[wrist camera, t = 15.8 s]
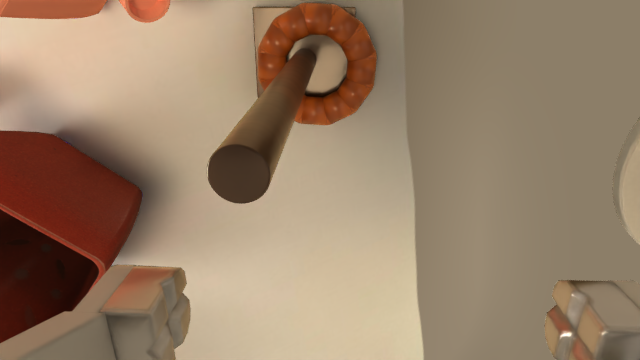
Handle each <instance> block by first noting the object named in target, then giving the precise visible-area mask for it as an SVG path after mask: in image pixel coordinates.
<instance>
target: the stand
mask: <svg viewBox="0 0 640 360" xmlns="http://www.w3.org/2000/svg"><path fill="white" fill-rule="evenodd" d="M292 8H294V7H253V23H254V41H255V59H256V76H257V94H258V99H257V100H256V102H255V103H254V104H253V105H252V107H251V108H250V109H249V110H248V111H247V113H246V114H245V115H244V116H243V118H242V119H241V120H240V121H239V122H238V124H237V125H236V126H235V127H234V129H233V130H232V131H231V132H230V134H229V135H228V136H227V137H226V138H225V140H224V141H223V142H222V143H221V145H220V146H219V147H218V148H217V150H216V151H215V152H214V153H213V154H212V156H211V157H210V159H209V162H208V165H207V177H208V180H209V183H210V185H211V187H212V188H213V190H214V191H215V192H216V193H217V194H218V195H219V196H221V197H222V198H224V199H225V200H228V201H230V202H234V203H249V202H253V201H255V200H257V199H259V198H260V197H261V196H263V195H264V193H265V192H266V191H267V189H268V187H269V185H270V182H271V180H272V177H273V174H274V172H275V169H276V167H277V164H278V161H279V159H280V156H281V154H282V151H283V148H284V146H285V143H286V141H287V138H288V135H289V133H290V130H291V128H292V125H293V122H294V120H295V117H296V115H297V112H298V109H299V107H300V104H301V102H302V99H303V96H304V95H306V96H309V97H325V96H327V95H329V94H331V93H333V92H335V91H337V90H338V89H339V87H340V86H341V84H342V83H343V81H344V80H345V78H346V76H347V62H348V60H347V58H346V56H345V54H344V52H343V49H342V47H341V45H340V44H338V43H337V42H335V41H334V40H332V39H331V38H329V37H328V36H326V35H308V36H306V37H304V38H302V39H300V40H299V41H297V42H295V43H294V45H293V47H292V48H291V50H290V52H289V53H288V55H287V58H286V65H285V66H284V67H283V68H282V70H281V71H280V72H279V73H278V75H277V76H276V77H275V78H274V79H273V81H272V82H271V83H270V84H269V86H268V87H267V88H266V89H265V91H264V90H263V88H262V86H261V84H260V83H259V80H258V47H259V44H260V42H261V41H262V39H263V37H264V35H265V34H266V32H267V30H268V28H269V26H270V25H271V23H272V21H273V20H274V19H275V18H276V17H278V16H279V15H281V14H283V13H285V12H287V11H288V10H290V9H292ZM341 8H342V9H344V10H345V11H346V12H348V13H349V14H351V15H352V16H353V17H355V13H356V8H355V7H341Z"/></svg>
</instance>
